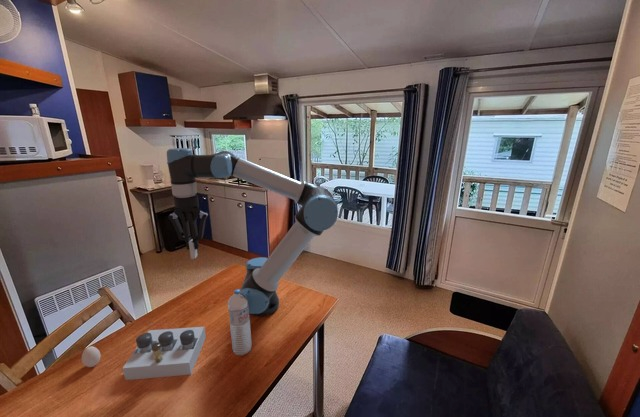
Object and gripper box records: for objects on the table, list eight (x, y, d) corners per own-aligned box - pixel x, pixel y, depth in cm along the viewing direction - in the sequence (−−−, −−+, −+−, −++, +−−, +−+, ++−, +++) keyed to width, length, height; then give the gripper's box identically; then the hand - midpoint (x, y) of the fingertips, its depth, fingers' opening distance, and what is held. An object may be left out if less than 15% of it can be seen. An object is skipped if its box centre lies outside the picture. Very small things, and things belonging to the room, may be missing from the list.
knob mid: (178, 347, 93) (174, 330, 91) (172, 357, 89) (169, 340, 87) (165, 348, 93) (161, 331, 91) (159, 358, 89) (155, 341, 86)
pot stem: (165, 356, 86) (162, 341, 84) (161, 363, 83) (158, 348, 81) (156, 357, 85) (153, 342, 84) (152, 363, 83) (149, 349, 81)
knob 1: (157, 349, 93) (153, 332, 90) (151, 359, 88) (147, 342, 86) (144, 350, 92) (140, 333, 90) (137, 360, 88) (133, 343, 86)
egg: (85, 363, 88) (79, 346, 86) (103, 357, 91) (97, 340, 89) (83, 373, 85) (77, 356, 83) (102, 366, 87) (96, 349, 85)
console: (205, 337, 100) (204, 326, 99) (191, 374, 85) (189, 362, 84) (150, 341, 98) (148, 330, 96) (125, 380, 83) (122, 368, 81)
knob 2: (198, 345, 94) (195, 329, 92) (194, 356, 90) (191, 339, 88) (185, 346, 94) (182, 330, 91) (180, 357, 89) (177, 340, 87)
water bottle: (234, 359, 91) (228, 299, 83) (231, 345, 97) (225, 287, 89) (253, 352, 94) (249, 293, 87) (249, 339, 100) (245, 282, 92)
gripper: (208, 191, 92) (215, 251, 99) (169, 192, 91) (179, 253, 98) (202, 197, 85) (210, 261, 92) (159, 198, 84) (171, 262, 91)
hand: (194, 256), depth 95 cm, fingers closed
